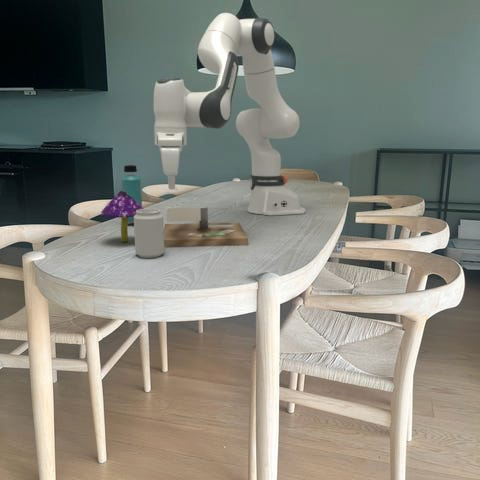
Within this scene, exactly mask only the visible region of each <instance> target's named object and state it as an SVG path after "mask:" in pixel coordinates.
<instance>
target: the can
mask: <svg viewBox="0 0 480 480" xmlns="http://www.w3.org/2000/svg"><path fill="white" fill-rule="evenodd" d="M133 227H134V228H133V229H134V249H135V254H136V255H137V256H138V257H139V258H142V259H155V258H159V257H161V256H162V255H163V254H164V253H165V247H164V227H165V224H164V215H163V214H162V213H161V209H158V208H144V209H140V210H137V211H136V215H135V216H134V222H133Z"/></svg>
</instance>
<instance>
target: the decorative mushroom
mask: <svg viewBox="0 0 480 480" xmlns="http://www.w3.org/2000/svg"><path fill="white" fill-rule="evenodd" d="M140 209H145V208H144V206H143V205H142V206H141V205H140V204H139V203H138V202H137V201H136V200H135V199H134V198H132V197H131V196H129V195H128V194H127V193H126V192H125V191H122V190H120V191H119V192H118V193H117V194H116V195H115V196H114V197H113V198H112V199H111V200H110V201H109V202H108V203H107V204H106V205H105V207H104V208H102V210H101V211H100V212H101V216H104V217H107V218H121V222H120V232H121V233H120V235H121V241H122V243H127V242H128V241H129V233H128V227H129V226H128V224H129V222H128V217H134V216H135V215H136V211H137V210H140Z"/></svg>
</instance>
